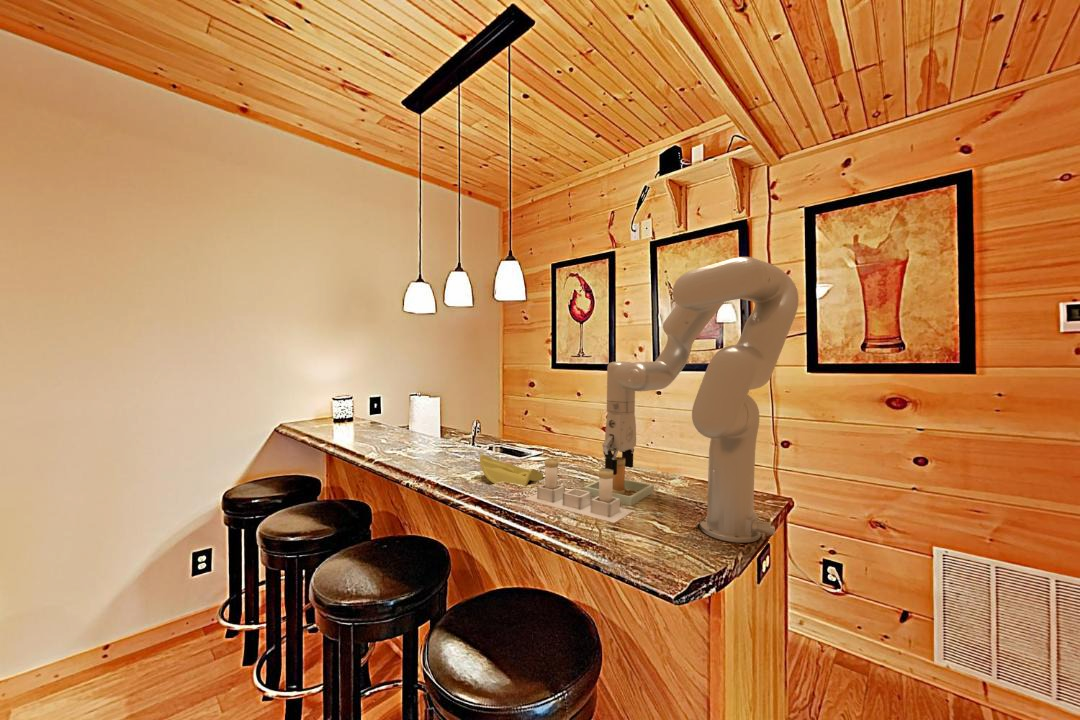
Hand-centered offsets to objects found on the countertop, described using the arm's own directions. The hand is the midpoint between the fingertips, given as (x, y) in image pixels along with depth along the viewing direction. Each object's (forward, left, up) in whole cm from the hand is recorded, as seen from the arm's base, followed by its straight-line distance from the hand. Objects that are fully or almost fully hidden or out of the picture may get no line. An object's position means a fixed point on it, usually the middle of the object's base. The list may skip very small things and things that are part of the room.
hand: (619, 470), depth 126 cm
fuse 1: (+12, +15, -6) cm, 20 cm away
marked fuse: (0, 0, -7) cm, 7 cm away
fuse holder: (+4, +15, -8) cm, 17 cm away
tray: (0, 0, -8) cm, 8 cm away
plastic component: (+33, +6, -8) cm, 35 cm away
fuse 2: (-4, +15, -6) cm, 17 cm away
